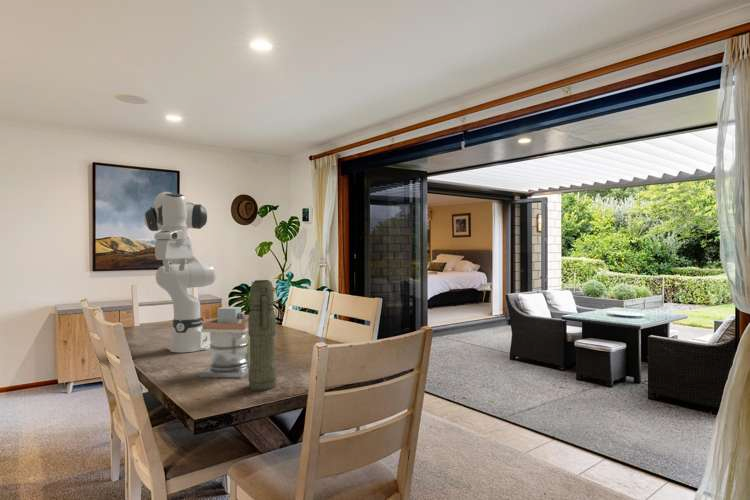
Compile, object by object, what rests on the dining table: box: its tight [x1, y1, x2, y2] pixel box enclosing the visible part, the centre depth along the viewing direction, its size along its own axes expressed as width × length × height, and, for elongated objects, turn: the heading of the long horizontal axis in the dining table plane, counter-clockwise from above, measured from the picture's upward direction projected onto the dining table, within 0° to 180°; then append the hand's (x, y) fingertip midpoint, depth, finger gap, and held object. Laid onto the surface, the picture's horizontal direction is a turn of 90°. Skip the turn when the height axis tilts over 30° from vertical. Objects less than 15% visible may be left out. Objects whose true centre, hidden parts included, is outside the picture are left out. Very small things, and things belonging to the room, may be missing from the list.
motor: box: [198, 318, 250, 379], centre depth 166 cm, size 16×16×19 cm
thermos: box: [248, 279, 277, 392], centre depth 147 cm, size 9×12×35 cm
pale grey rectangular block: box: [216, 306, 246, 323], centre depth 166 cm, size 5×9×7 cm, turn 84°
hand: (175, 271), depth 171 cm, fingers open, 8 cm apart
